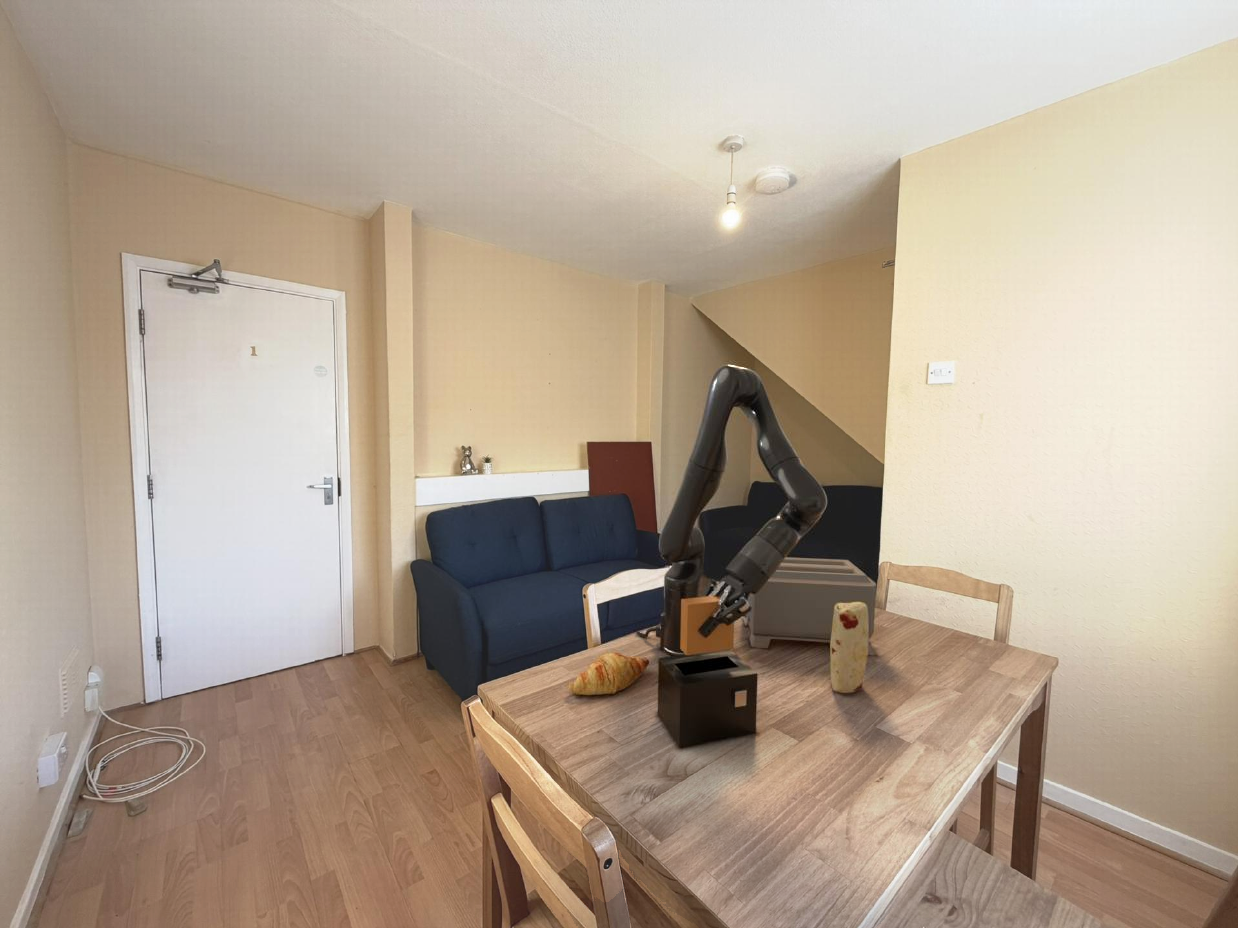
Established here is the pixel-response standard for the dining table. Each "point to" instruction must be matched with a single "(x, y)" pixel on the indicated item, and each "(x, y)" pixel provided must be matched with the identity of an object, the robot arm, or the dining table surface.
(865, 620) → the food model
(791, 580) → the toaster
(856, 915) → the dining table surface
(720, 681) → the slot toaster
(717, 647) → the orange slab
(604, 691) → the croissant
